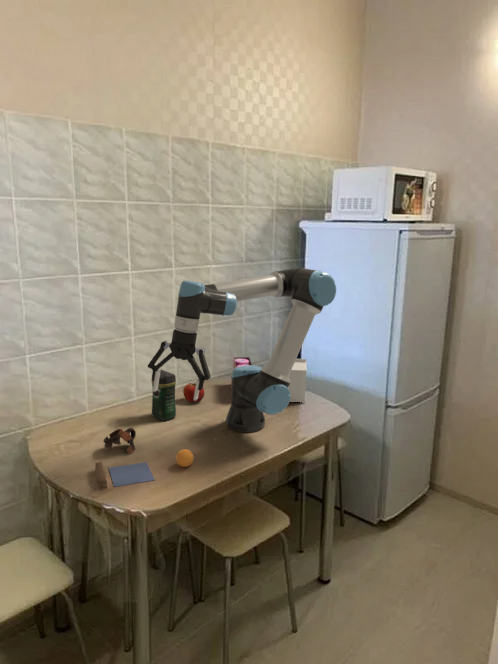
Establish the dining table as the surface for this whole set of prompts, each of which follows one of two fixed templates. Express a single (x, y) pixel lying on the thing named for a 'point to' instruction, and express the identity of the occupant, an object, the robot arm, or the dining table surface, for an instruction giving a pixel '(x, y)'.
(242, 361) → the gum box
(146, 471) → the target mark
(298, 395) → the milk carton
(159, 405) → the coffee jar
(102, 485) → the stopper strip
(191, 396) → the tomato
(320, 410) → the dining table surface
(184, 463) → the ball
